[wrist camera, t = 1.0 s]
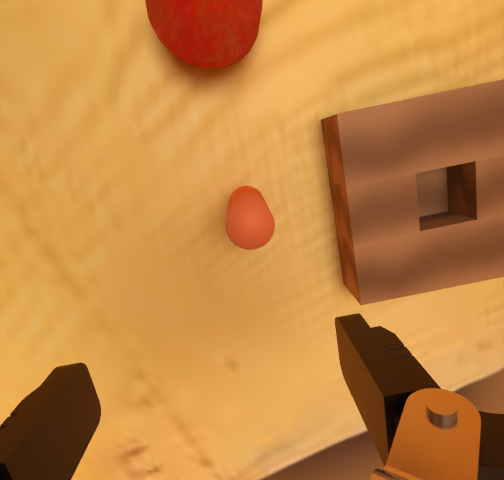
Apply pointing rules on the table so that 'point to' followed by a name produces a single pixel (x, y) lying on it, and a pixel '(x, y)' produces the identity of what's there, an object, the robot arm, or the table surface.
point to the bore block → (419, 192)
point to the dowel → (249, 219)
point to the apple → (206, 29)
